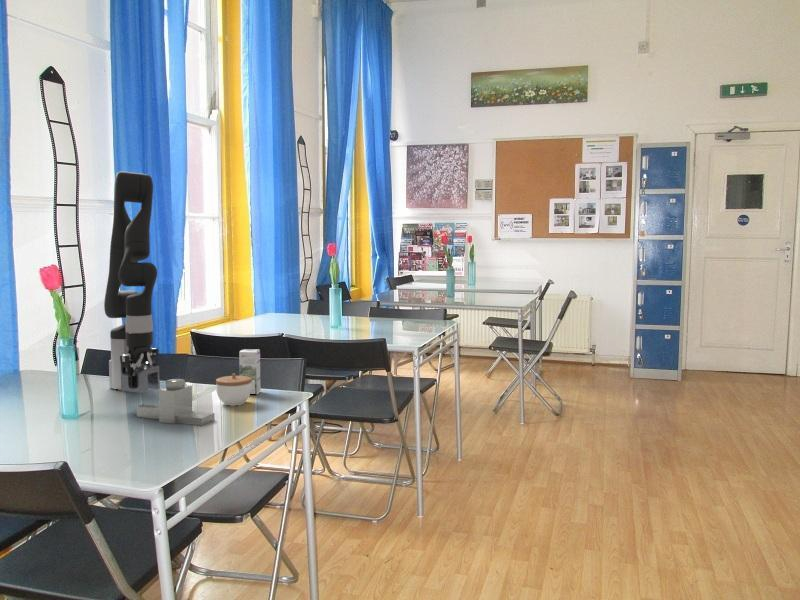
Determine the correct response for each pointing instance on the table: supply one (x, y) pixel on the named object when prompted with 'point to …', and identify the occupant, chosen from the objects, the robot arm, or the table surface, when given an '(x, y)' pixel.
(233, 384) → the lidded jar
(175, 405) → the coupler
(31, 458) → the table surface
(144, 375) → the coupler lock
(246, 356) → the syrup box
